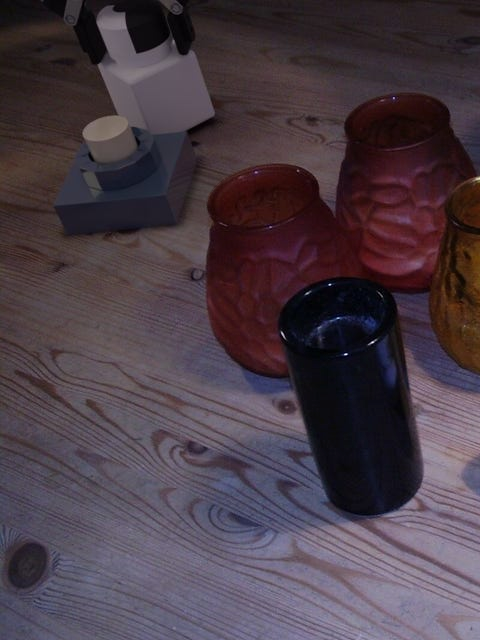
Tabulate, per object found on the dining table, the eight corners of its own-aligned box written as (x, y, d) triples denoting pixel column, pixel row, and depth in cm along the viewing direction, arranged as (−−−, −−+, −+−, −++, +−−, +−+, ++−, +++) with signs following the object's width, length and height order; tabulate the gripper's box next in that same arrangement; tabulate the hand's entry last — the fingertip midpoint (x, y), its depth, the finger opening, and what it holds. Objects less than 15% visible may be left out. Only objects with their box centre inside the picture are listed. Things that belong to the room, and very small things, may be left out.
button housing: (70, 241, 90) (43, 187, 85) (98, 176, 97) (74, 123, 92) (179, 231, 89) (157, 175, 85) (199, 166, 96) (180, 112, 92)
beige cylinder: (88, 167, 88) (77, 142, 86) (99, 142, 90) (89, 117, 89) (132, 163, 87) (122, 138, 86) (142, 137, 90) (132, 113, 88)
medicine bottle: (181, 92, 104) (141, -19, 95) (217, 116, 100) (179, 1, 91) (120, 122, 101) (73, 10, 92) (154, 148, 97) (109, 32, 88)
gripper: (182, -170, 85) (239, 24, 97) (-16, -146, 86) (65, 43, 98) (164, -138, 79) (226, 63, 92) (-47, -113, 80) (43, 82, 93)
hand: (143, 52), depth 95 cm, fingers closed on medicine bottle, 7 cm apart
